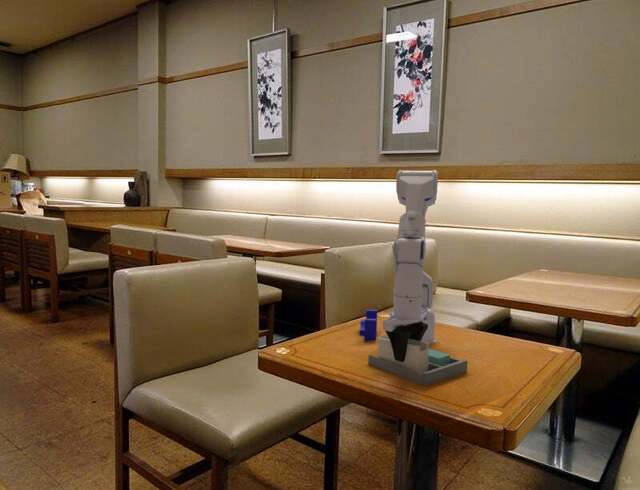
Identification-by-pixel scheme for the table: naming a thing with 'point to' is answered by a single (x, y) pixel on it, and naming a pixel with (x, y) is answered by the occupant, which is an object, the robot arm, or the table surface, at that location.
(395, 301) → the robot arm
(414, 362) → the grey striped bar
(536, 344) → the table surface
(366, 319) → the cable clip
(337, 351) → the table surface
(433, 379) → the grey divided tray
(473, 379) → the table surface
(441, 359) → the teal rectangular prism
